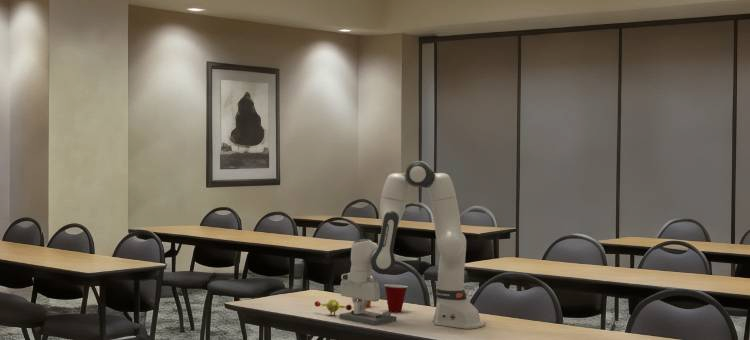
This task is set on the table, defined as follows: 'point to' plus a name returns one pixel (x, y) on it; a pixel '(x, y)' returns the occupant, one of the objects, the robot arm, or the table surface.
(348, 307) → the toy figure
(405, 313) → the table surface
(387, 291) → the plastic cup
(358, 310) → the block
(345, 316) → the console
